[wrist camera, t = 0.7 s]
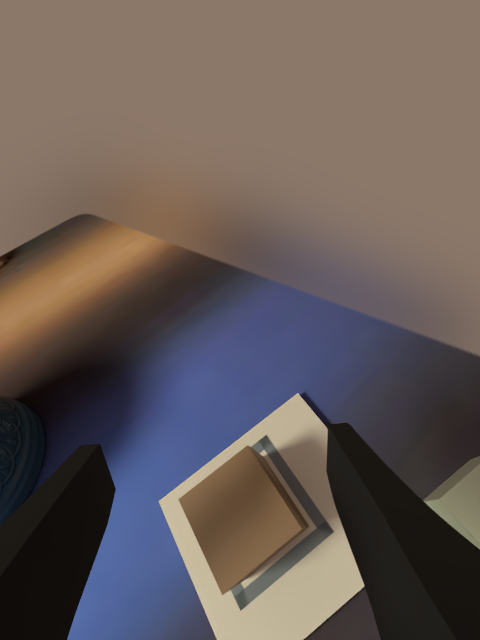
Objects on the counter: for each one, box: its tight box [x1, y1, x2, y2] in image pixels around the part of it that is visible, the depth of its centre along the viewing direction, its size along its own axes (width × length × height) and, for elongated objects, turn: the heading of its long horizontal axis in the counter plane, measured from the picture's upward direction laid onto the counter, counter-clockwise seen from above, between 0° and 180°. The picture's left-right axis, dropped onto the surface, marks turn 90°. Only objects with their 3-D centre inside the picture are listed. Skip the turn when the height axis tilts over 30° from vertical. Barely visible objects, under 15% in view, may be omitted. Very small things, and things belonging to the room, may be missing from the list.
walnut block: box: [178, 445, 309, 595], centre depth 21 cm, size 6×6×5 cm
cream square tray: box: [159, 393, 364, 640], centre depth 23 cm, size 12×14×1 cm
